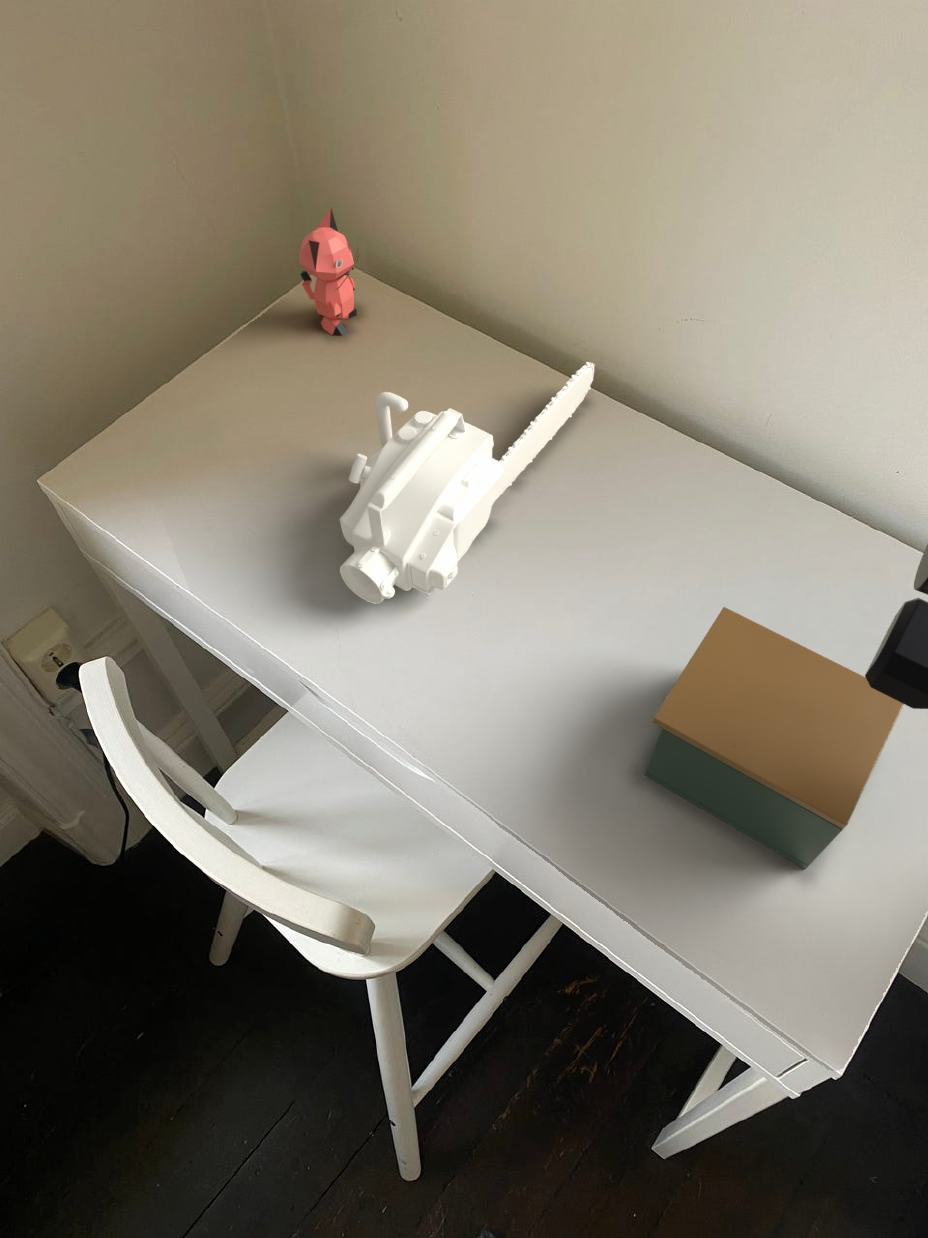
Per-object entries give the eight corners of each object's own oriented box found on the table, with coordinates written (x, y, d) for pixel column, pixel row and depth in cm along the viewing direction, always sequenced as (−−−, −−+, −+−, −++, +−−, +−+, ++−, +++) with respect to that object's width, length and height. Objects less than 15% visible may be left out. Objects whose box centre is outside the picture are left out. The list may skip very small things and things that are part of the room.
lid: (651, 722, 66) (653, 717, 65) (721, 611, 71) (724, 606, 71) (843, 830, 61) (846, 825, 61) (902, 702, 67) (907, 697, 66)
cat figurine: (352, 345, 101) (338, 249, 91) (295, 333, 102) (275, 237, 92) (374, 305, 105) (363, 209, 95) (319, 294, 106) (302, 198, 96)
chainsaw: (615, 403, 96) (632, 303, 85) (419, 638, 80) (411, 551, 70) (494, 349, 101) (496, 248, 90) (287, 561, 85) (261, 468, 74)
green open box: (643, 775, 73) (661, 728, 66) (708, 670, 78) (731, 616, 71) (805, 869, 68) (842, 830, 61) (862, 752, 74) (902, 703, 67)
